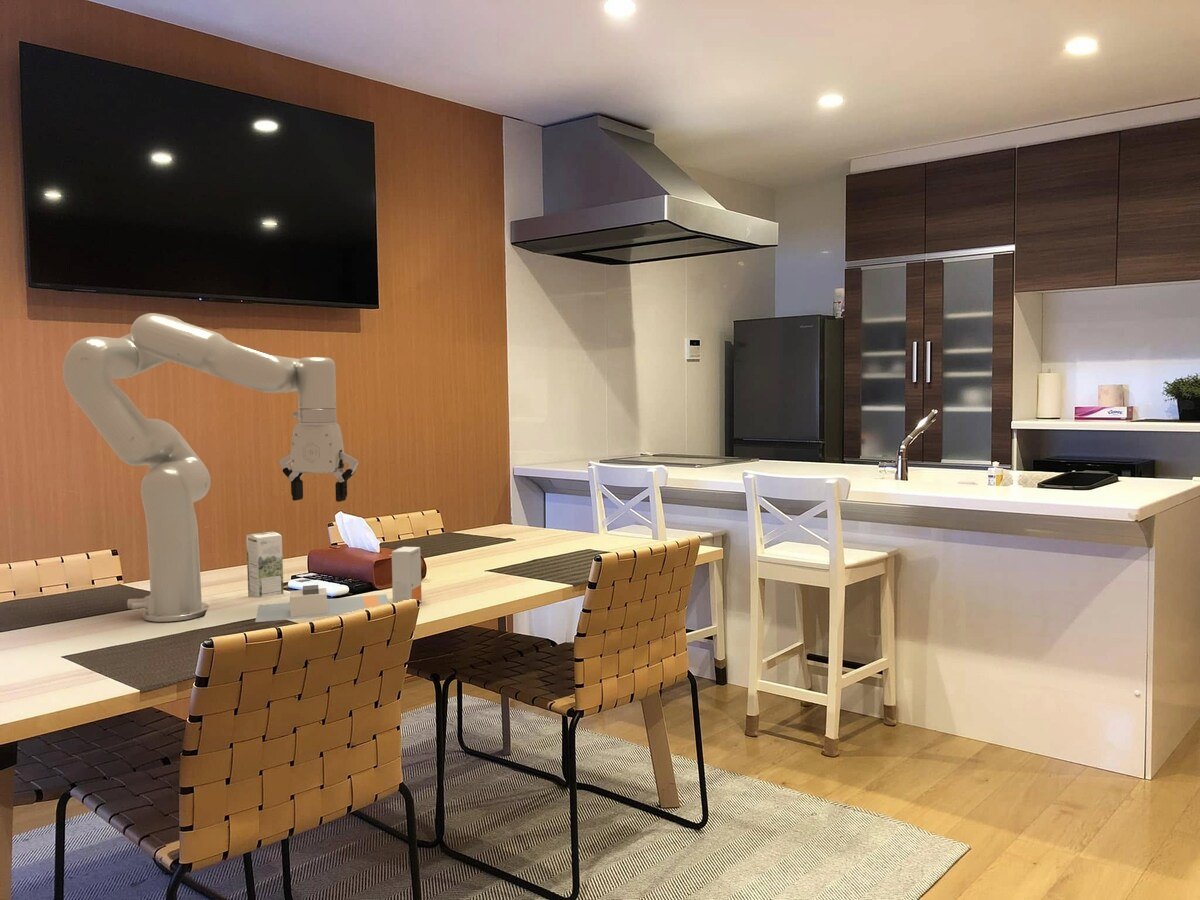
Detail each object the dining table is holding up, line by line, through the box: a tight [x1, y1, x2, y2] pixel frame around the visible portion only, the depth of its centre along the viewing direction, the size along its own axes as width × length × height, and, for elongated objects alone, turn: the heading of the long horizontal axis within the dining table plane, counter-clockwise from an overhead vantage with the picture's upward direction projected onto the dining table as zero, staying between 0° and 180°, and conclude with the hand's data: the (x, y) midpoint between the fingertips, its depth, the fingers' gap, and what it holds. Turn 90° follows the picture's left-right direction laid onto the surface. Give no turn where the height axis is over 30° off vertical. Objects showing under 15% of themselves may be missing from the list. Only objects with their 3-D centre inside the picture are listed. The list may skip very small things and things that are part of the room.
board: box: [254, 593, 390, 623], centre depth 190 cm, size 26×15×1 cm, turn 108°
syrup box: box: [245, 531, 285, 598], centre depth 204 cm, size 6×6×14 cm
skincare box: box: [391, 546, 423, 603], centre depth 196 cm, size 6×4×12 cm
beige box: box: [289, 584, 328, 617], centre depth 186 cm, size 7×6×5 cm
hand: (319, 500), depth 191 cm, fingers open, 9 cm apart
